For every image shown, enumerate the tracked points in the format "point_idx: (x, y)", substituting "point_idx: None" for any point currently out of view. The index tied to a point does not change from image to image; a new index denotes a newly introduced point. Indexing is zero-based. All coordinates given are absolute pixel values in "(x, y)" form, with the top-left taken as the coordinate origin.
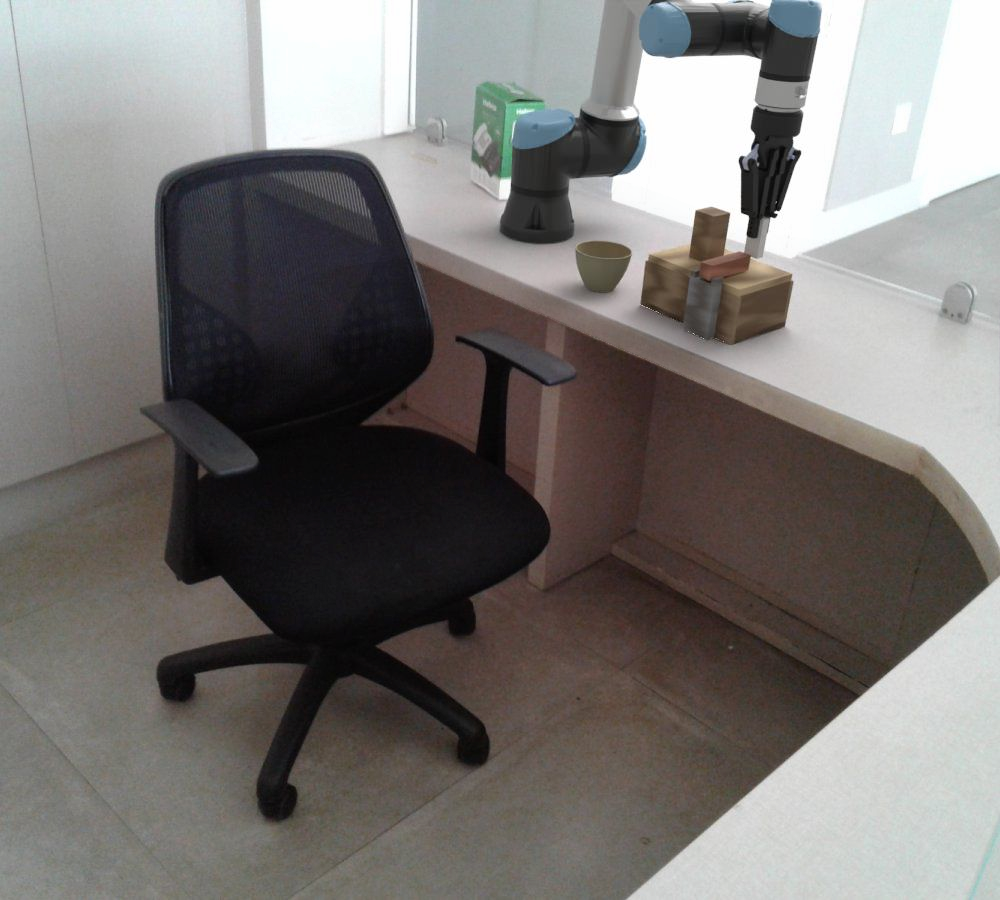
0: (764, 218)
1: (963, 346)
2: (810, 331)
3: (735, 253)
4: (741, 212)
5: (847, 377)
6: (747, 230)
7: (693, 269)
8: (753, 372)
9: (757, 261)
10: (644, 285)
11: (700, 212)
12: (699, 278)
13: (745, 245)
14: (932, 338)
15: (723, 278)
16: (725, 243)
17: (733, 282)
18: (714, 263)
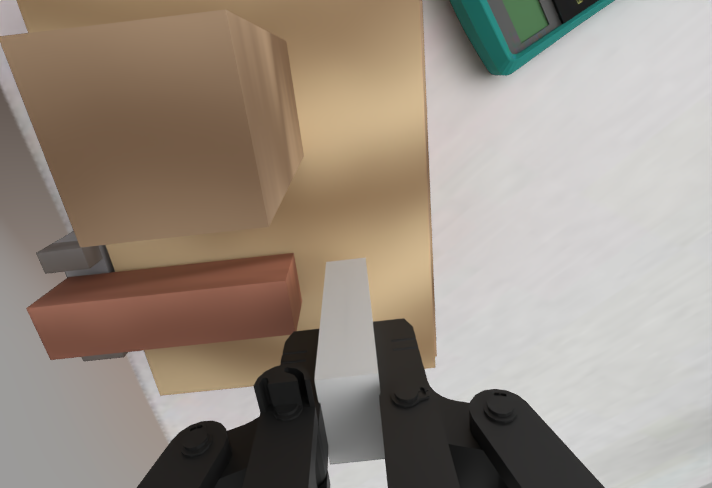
0: (353, 451)
1: (639, 478)
2: (444, 324)
3: (247, 292)
4: (181, 436)
5: (329, 478)
6: (282, 357)
7: (49, 252)
8: (174, 408)
9: (425, 230)
10: None
11: (27, 101)
12: (78, 274)
13: (324, 281)
14: (631, 440)
15: (123, 356)
16: (295, 172)
17: (180, 348)
18: (77, 344)
